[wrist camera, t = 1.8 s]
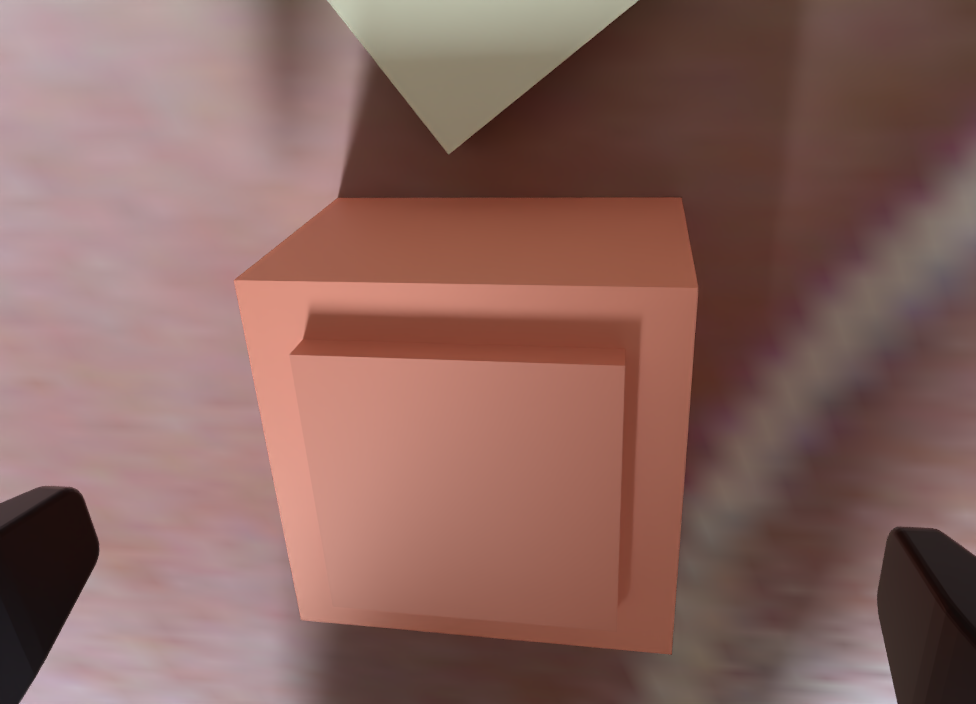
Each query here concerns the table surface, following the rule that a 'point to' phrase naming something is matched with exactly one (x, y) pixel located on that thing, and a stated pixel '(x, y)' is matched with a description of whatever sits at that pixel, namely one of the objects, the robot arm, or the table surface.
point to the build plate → (471, 51)
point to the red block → (481, 413)
